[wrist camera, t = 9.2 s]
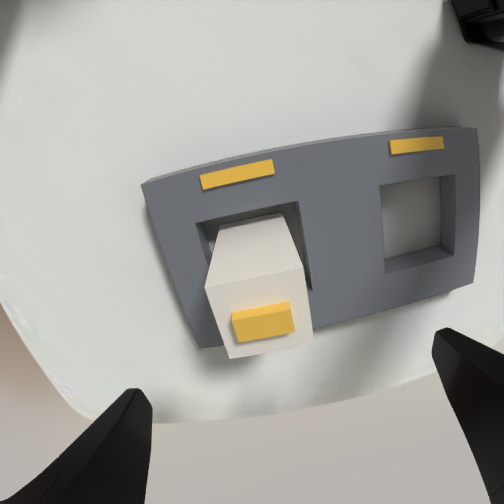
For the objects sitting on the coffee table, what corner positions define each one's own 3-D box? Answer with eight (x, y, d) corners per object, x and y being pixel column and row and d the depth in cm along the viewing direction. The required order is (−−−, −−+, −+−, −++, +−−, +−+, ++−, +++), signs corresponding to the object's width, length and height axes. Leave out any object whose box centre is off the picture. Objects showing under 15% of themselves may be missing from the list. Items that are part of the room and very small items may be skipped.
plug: (281, 211, 19) (305, 274, 11) (292, 267, 21) (316, 351, 13) (220, 225, 19) (202, 294, 12) (235, 279, 21) (229, 367, 13)
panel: (460, 126, 17) (478, 128, 15) (460, 271, 21) (474, 283, 19) (150, 178, 18) (139, 185, 16) (202, 332, 23) (199, 350, 21)
